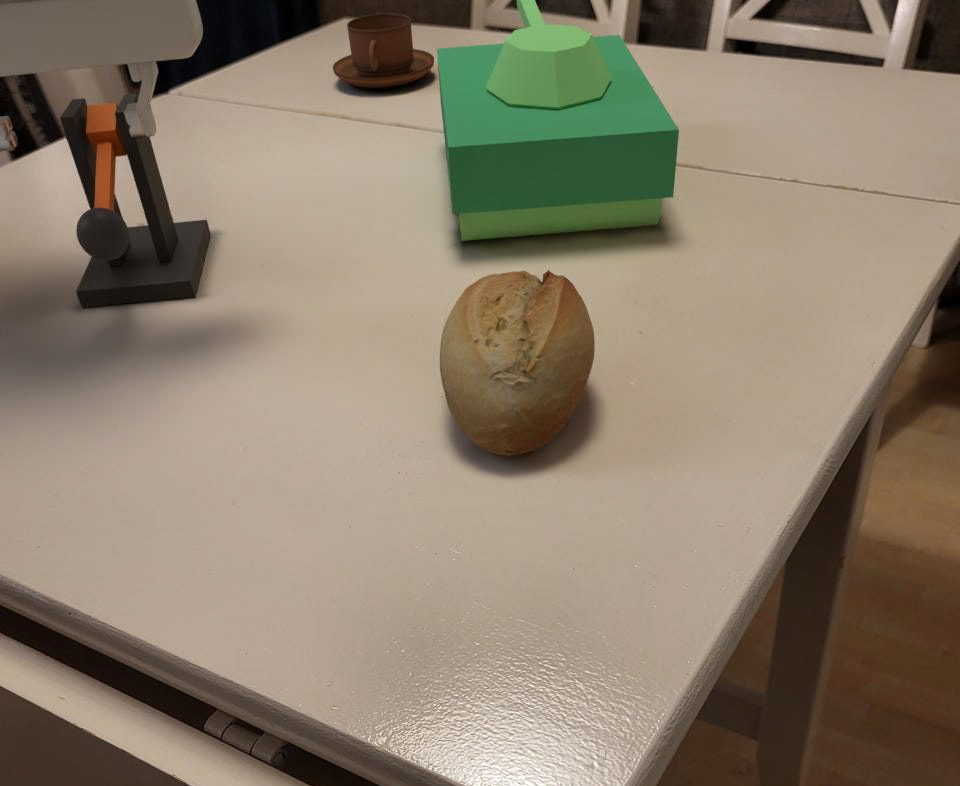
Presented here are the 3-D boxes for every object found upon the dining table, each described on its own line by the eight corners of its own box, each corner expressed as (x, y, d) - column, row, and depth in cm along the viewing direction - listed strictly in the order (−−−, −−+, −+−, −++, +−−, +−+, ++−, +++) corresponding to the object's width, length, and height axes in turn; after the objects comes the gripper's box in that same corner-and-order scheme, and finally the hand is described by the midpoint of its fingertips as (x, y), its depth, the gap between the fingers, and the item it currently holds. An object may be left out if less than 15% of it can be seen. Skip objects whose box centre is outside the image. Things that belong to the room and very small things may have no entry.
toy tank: (608, -29, 97) (683, 76, 71) (603, 104, 105) (669, 239, 80) (431, -16, 96) (444, 93, 71) (440, 116, 105) (455, 256, 80)
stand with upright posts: (195, 296, 77) (147, 126, 68) (81, 307, 77) (18, 138, 68) (210, 234, 86) (170, 76, 77) (108, 244, 86) (56, 86, 77)
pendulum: (136, 268, 71) (118, 233, 68) (87, 273, 71) (66, 238, 68) (139, 134, 76) (122, 94, 73) (93, 138, 76) (74, 99, 73)
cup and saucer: (444, 88, 112) (440, 27, 108) (342, 101, 111) (333, 41, 106) (425, 60, 121) (420, 3, 117) (329, 73, 119) (321, 15, 115)
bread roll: (586, 341, 69) (589, 229, 63) (599, 466, 58) (604, 345, 52) (451, 346, 69) (441, 236, 64) (439, 471, 58) (426, 351, 53)
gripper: (176, -134, 59) (232, 111, 68) (-164, -101, 58) (-60, 141, 68) (162, -118, 54) (223, 142, 64) (-208, -83, 54) (-90, 174, 63)
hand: (75, 141), depth 66 cm, fingers open, 8 cm apart
